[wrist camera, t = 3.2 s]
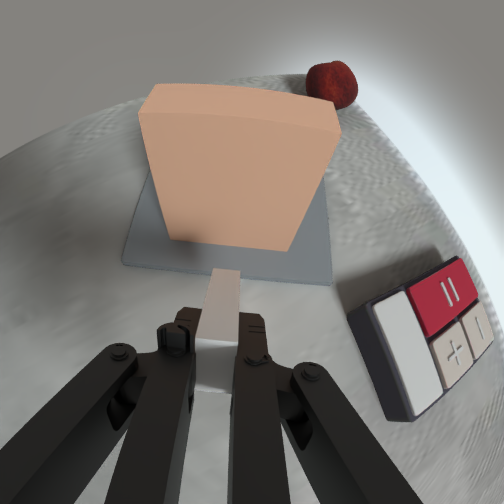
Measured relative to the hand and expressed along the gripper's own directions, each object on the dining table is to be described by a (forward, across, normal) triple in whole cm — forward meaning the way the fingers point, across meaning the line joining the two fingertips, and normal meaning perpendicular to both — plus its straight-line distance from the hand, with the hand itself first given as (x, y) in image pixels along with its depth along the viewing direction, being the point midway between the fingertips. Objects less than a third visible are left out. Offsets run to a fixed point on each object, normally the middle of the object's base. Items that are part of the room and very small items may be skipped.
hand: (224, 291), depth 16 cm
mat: (+14, 0, +5) cm, 14 cm away
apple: (+27, +11, +17) cm, 34 cm away
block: (+9, 0, +1) cm, 9 cm away
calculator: (+4, +19, -6) cm, 21 cm away
